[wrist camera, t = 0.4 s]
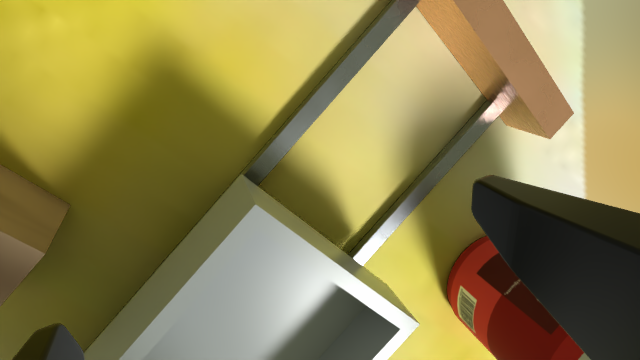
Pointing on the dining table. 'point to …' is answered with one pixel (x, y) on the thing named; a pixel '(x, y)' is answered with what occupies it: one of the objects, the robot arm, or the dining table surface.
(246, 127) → the dining table surface
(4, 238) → the walnut block
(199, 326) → the grey open tray
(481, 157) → the dining table surface
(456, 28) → the track
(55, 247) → the dining table surface
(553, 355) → the canned food
